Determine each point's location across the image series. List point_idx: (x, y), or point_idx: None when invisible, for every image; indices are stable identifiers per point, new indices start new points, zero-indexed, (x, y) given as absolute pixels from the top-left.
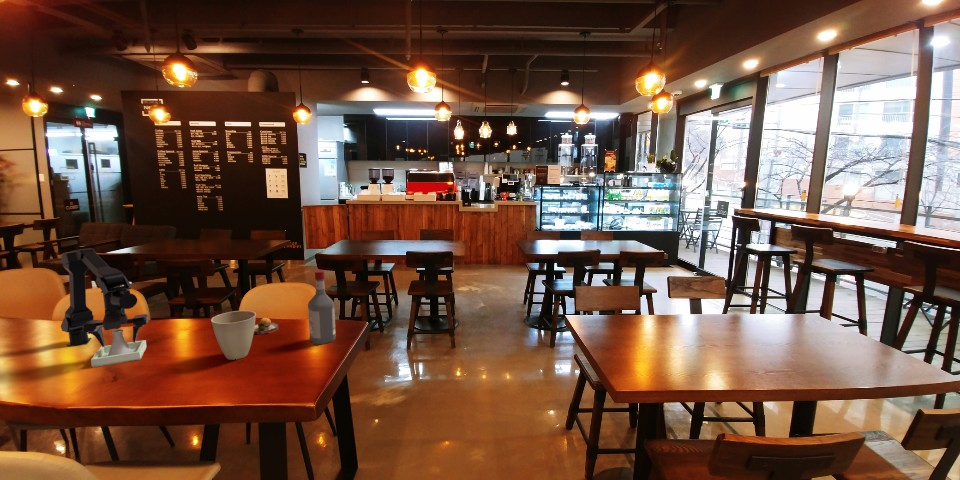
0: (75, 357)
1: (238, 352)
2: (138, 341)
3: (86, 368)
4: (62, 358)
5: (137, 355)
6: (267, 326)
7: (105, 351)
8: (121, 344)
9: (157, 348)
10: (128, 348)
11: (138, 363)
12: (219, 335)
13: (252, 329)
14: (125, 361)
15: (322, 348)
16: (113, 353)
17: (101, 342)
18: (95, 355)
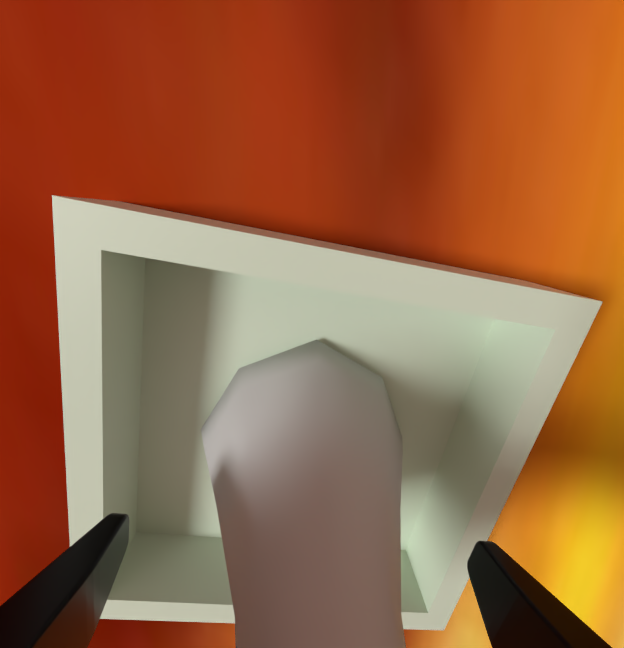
0: (551, 572)
1: None
2: (142, 610)
3: (560, 289)
4: (605, 591)
5: (113, 204)
6: None
7: (402, 562)
8: (284, 498)
9: (7, 455)
10: (221, 455)
11: (121, 57)
12: None
13: None
14: (262, 230)
15: None
16: (368, 407)
17: (558, 617)
18: (531, 421)
